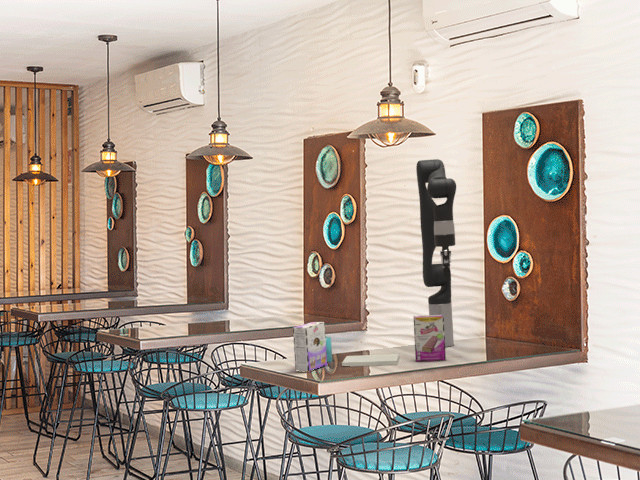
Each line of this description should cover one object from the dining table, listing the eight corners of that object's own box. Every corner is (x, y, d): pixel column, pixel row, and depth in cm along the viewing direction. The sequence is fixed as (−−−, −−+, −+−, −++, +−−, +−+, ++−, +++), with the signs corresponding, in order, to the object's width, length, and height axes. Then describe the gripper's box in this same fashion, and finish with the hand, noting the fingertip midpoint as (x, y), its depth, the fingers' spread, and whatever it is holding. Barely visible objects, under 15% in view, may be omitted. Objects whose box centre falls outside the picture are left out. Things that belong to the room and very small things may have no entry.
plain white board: (347, 359, 315) (346, 356, 315) (399, 357, 312) (399, 354, 312) (342, 366, 301) (342, 362, 301) (397, 364, 298) (396, 360, 298)
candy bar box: (415, 362, 301) (413, 317, 301) (415, 359, 306) (412, 315, 306) (446, 360, 300) (443, 315, 300) (445, 358, 305) (443, 314, 305)
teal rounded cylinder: (315, 360, 319) (314, 336, 319) (333, 359, 318) (332, 336, 318) (312, 363, 312) (311, 339, 312) (331, 362, 311) (329, 339, 311)
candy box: (314, 365, 308) (311, 321, 308) (328, 365, 305) (325, 321, 305) (295, 372, 296) (291, 326, 296) (308, 373, 293) (305, 327, 293)
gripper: (434, 233, 310) (436, 276, 311) (434, 234, 296) (436, 279, 297) (454, 232, 309) (457, 275, 310) (455, 233, 295) (457, 278, 296)
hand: (447, 277), depth 303 cm, fingers open, 8 cm apart
